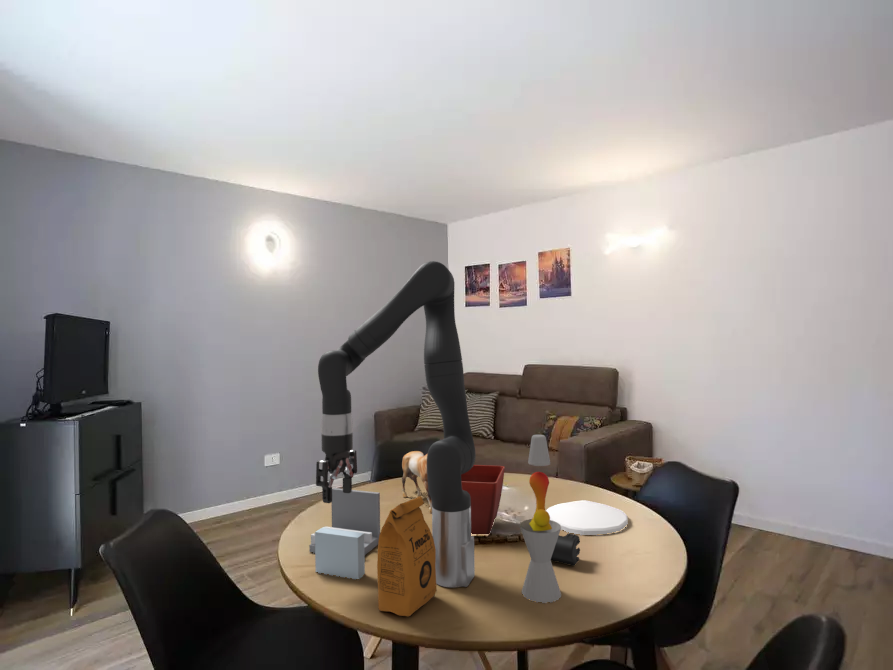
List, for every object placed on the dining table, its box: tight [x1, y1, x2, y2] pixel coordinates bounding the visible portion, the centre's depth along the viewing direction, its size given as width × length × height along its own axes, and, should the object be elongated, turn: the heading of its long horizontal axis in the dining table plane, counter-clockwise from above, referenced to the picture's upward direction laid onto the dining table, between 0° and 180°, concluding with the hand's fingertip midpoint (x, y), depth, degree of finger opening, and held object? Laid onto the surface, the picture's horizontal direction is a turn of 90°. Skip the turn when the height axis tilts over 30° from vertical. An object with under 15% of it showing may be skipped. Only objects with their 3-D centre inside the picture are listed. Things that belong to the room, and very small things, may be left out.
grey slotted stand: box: [308, 487, 381, 556], centre depth 142 cm, size 15×12×14 cm
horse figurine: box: [401, 450, 432, 514], centre depth 180 cm, size 31×8×21 cm, turn 28°
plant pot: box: [461, 464, 506, 534], centre depth 155 cm, size 19×19×17 cm
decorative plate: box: [545, 499, 629, 536], centre depth 160 cm, size 25×4×25 cm
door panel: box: [314, 527, 366, 580], centre depth 127 cm, size 12×3×10 cm, turn 69°
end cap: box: [551, 533, 581, 567], centre depth 132 cm, size 10×7×7 cm
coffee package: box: [376, 496, 437, 617], centre depth 111 cm, size 10×12×22 cm
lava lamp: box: [519, 434, 562, 604], centre depth 115 cm, size 9×9×35 cm
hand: (337, 497), depth 127 cm, fingers open, 8 cm apart
